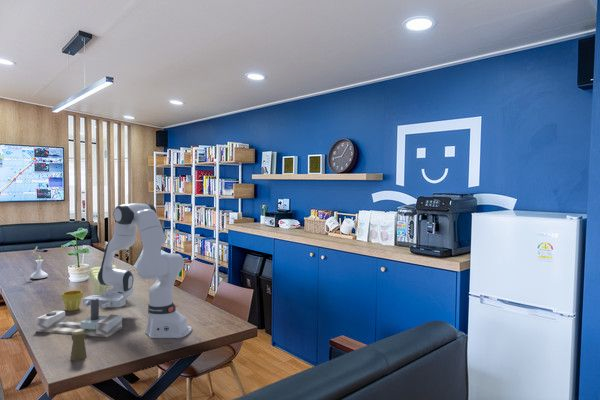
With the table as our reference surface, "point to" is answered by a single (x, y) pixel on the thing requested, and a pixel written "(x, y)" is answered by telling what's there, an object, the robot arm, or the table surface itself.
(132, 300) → the table surface
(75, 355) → the olive brown pepper mill
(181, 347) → the table surface
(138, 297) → the table surface
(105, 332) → the rail track
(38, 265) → the flower in vase
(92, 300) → the carriage
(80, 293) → the plant pot
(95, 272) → the slatted curved stool
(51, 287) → the table surface
